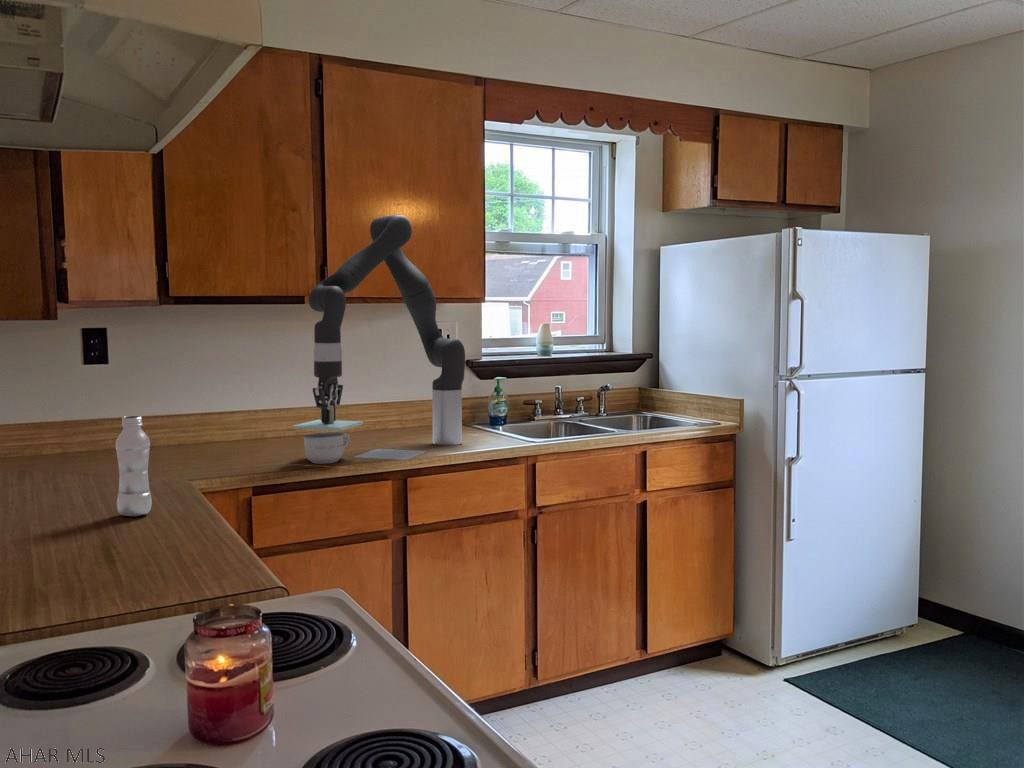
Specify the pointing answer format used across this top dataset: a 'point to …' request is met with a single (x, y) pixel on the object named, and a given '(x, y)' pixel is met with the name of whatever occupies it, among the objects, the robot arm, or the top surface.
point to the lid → (328, 426)
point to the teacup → (325, 447)
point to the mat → (390, 454)
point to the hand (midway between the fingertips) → (328, 422)
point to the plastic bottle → (133, 468)
